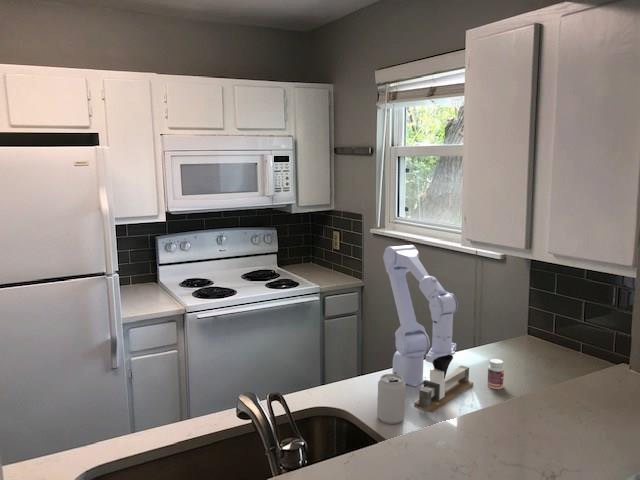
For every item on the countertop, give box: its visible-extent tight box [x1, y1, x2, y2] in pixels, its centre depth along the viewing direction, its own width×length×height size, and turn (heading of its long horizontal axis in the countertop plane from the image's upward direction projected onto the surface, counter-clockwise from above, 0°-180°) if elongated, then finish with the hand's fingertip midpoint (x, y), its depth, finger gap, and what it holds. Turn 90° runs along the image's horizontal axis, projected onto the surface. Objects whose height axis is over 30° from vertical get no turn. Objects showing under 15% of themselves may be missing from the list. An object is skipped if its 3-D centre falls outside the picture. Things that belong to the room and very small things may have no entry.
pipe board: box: [413, 365, 474, 413], centre depth 161 cm, size 6×25×5 cm, turn 138°
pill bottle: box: [486, 358, 505, 390], centre depth 167 cm, size 5×5×8 cm
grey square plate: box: [422, 380, 440, 401], centre depth 154 cm, size 5×1×5 cm, turn 48°
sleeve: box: [426, 367, 445, 400], centre depth 156 cm, size 5×3×8 cm, turn 48°
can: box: [376, 373, 407, 425], centre depth 145 cm, size 8×8×12 cm
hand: (440, 378), depth 158 cm, fingers closed
